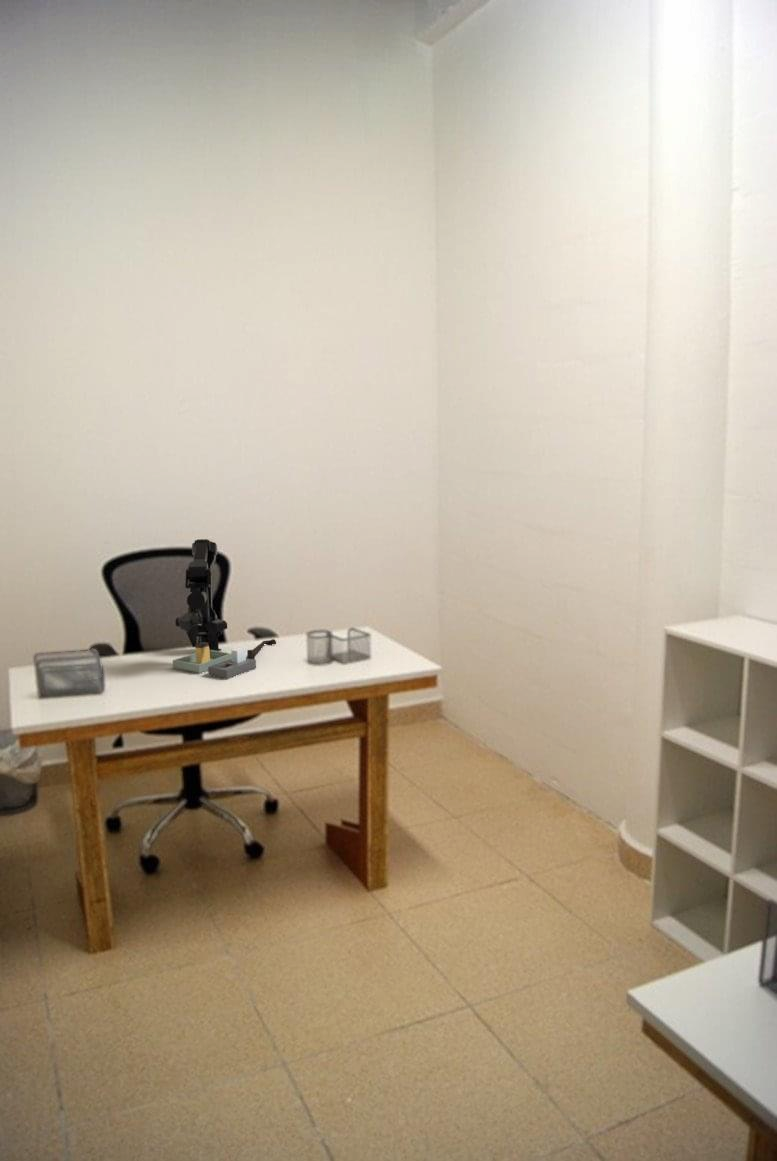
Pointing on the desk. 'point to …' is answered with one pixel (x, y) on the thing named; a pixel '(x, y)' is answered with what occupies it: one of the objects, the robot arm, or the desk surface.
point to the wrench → (258, 649)
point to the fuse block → (231, 668)
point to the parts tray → (190, 664)
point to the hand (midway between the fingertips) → (202, 648)
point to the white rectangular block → (238, 655)
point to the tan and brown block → (202, 652)
